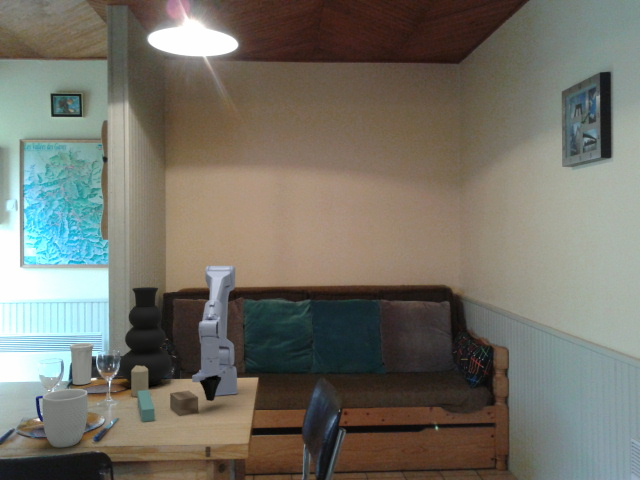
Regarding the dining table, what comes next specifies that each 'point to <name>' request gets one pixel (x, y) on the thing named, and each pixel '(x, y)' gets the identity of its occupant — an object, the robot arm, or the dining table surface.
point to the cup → (81, 362)
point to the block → (184, 403)
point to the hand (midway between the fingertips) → (210, 400)
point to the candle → (139, 380)
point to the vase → (146, 338)
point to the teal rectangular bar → (145, 406)
